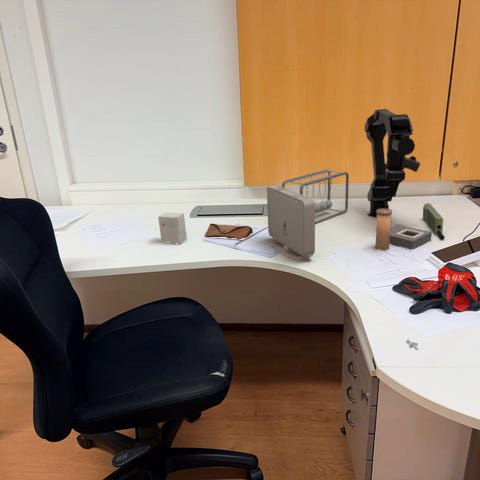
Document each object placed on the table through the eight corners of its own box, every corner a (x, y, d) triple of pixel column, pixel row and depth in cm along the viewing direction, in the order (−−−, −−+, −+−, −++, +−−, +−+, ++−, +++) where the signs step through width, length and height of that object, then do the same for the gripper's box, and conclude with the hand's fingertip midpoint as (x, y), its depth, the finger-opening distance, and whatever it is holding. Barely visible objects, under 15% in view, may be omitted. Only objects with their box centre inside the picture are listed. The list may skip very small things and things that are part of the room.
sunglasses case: (201, 237, 168) (203, 220, 169) (208, 241, 175) (210, 224, 176) (246, 241, 162) (248, 223, 163) (251, 244, 169) (253, 227, 170)
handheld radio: (430, 219, 175) (448, 241, 152) (422, 219, 176) (437, 241, 153) (431, 203, 173) (449, 222, 150) (422, 203, 173) (438, 222, 150)
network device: (263, 240, 162) (260, 186, 155) (284, 236, 165) (283, 183, 158) (298, 264, 140) (297, 202, 133) (322, 258, 143) (322, 198, 136)
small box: (187, 239, 168) (184, 212, 164) (180, 244, 163) (177, 217, 159) (168, 238, 170) (165, 211, 167) (161, 243, 165) (157, 216, 162)
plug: (371, 247, 150) (373, 210, 146) (383, 244, 152) (384, 207, 147) (381, 251, 146) (383, 213, 141) (393, 248, 147) (395, 211, 143)
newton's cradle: (301, 229, 172) (301, 184, 166) (282, 224, 179) (280, 180, 173) (348, 212, 190) (349, 170, 184) (328, 208, 197) (329, 168, 191)
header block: (377, 240, 155) (378, 231, 154) (396, 232, 162) (397, 223, 161) (412, 249, 146) (413, 239, 145) (430, 240, 153) (431, 230, 152)
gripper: (422, 154, 148) (418, 200, 153) (416, 146, 165) (413, 187, 170) (387, 155, 151) (385, 199, 156) (385, 147, 168) (383, 187, 173)
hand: (392, 193), depth 164 cm, fingers open, 9 cm apart
